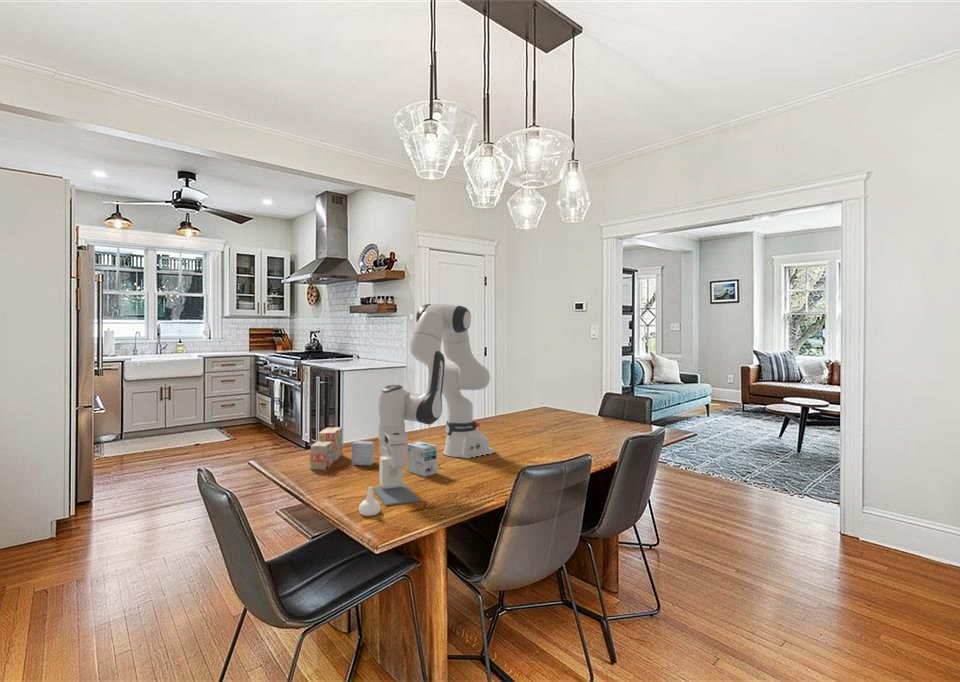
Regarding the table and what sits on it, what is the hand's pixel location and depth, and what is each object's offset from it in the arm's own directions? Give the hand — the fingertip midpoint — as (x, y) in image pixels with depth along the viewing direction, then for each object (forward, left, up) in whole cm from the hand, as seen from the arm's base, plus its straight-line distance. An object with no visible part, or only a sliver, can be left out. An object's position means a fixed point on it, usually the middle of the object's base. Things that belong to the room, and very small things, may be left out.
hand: (391, 474), depth 166 cm
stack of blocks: (+15, -43, -6) cm, 46 cm away
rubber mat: (0, +6, -5) cm, 8 cm away
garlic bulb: (+11, +17, -6) cm, 21 cm away
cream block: (0, 0, -3) cm, 3 cm away
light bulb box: (-16, -15, -6) cm, 23 cm away
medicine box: (+2, -35, -6) cm, 36 cm away
